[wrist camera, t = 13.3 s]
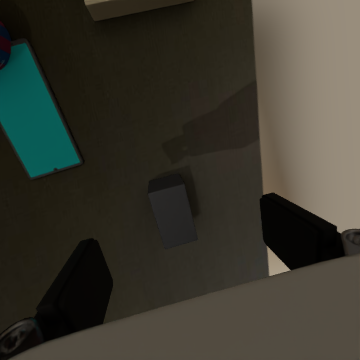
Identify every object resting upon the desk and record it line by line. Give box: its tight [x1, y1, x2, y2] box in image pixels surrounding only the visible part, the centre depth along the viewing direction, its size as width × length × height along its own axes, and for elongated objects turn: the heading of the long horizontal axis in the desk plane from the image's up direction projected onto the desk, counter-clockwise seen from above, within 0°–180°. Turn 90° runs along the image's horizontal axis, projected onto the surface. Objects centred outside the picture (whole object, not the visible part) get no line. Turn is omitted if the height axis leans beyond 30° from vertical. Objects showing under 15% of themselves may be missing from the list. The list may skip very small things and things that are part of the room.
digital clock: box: [148, 174, 198, 249], centre depth 26 cm, size 8×4×6 cm, turn 14°
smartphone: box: [0, 38, 84, 179], centre depth 23 cm, size 7×1×15 cm
